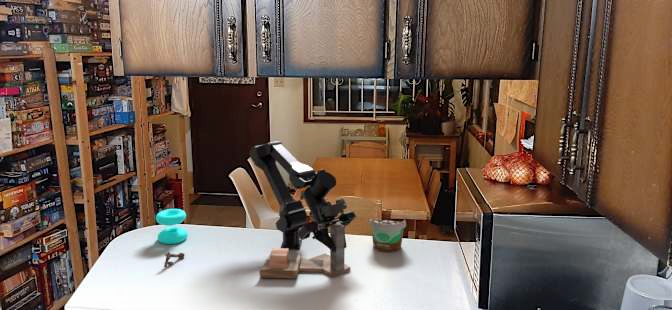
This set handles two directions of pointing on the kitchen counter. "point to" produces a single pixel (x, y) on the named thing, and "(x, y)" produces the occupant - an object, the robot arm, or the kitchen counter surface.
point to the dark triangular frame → (168, 256)
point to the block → (279, 258)
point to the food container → (387, 234)
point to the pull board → (314, 260)
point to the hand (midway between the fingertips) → (340, 249)
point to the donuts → (171, 233)
